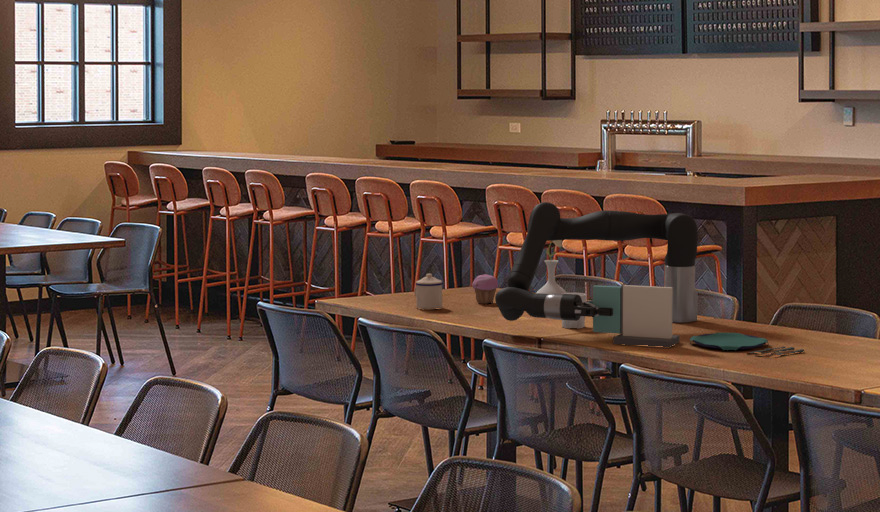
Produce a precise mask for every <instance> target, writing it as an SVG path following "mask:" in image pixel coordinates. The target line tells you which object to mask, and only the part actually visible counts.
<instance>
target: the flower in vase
mask: <svg viewBox="0 0 880 512" xmlns="http://www.w3.org/2000/svg"><path fill="white" fill-rule="evenodd" d="M552 243H553V244H554V245H555V246H557V248H562V247H563V240H554V241H550V242H549V245H548V248H547V249H546V254H547V255H548V257H549V259H545V260H544V263H545V265H546V267H547V272H548V273H547V276H548V277H547V281H546V283H545V284H544V285H543V286H542V287H540V289H538V290H537V292H535V293H541V294H555V293H558V294H562V293H568V292H567V291H566V290H565V289H564V288H563V287H561V285H559V284H558V283H557V282H556V277H555V276H556V275H555V274H556V267H557V264H558V263H559V260H557V259H552V258H551V257H553V256H554V255H556V254H557V251H556V250H554V251H553V253H551V254H550V248H551V245H552Z"/></svg>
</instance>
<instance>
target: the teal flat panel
mask: <svg viewBox="0 0 880 512" xmlns="http://www.w3.org/2000/svg"><path fill="white" fill-rule="evenodd" d="M592 301H593V304H595V306H597V307H599V309H600V307H604V308H613V315H612V316H601V315H600V314H599V316H595V317H592V333H605V334H617V335H619V334H621V286H616V285H613V286H612V285H596V284H595V285H593V286H592Z"/></svg>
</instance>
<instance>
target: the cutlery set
mask: <svg viewBox="0 0 880 512" xmlns="http://www.w3.org/2000/svg"><path fill="white" fill-rule="evenodd" d="M691 341H692V342H693V343H694V344H696V345H698V346H701V347H706V348H711V349H719V350H720V349H721V350H722V351H724V350H727V351H728V350H735V351H737V350H748V349H750V350H751V349H757V348H760V347H763V346H765V345H766V344H767V345H766V348H764V349H762V350H754V351H749V352H750V353H754V352H761V353H771V355H773V354H772V352H771V351H769V350H772V351H773V350H774V349H775V351H774V352H778V353H774V354H777V355H781V354H785V353H784V352H788V351H791V352H789V353H795V352H803V351H804V352H805V349H803V348H801V349H798V350H797V349H796V350H795V347H794V346H790V347H787V348H786V346H784V345H783V346H781V347H774V348H770V347H769V345H770V344H769V340H768V339H767V338H764V337H759V336H755V335H750V334H743V333H741V332H715V333H707V334H706V333H705V334H704V333H703V334H699V335H692V336H691V337H690V339H689V344H690V345H691V344H692V343H691ZM767 347H769V348H767ZM780 348H782V349H780ZM783 348H785V349H783ZM787 350H788V351H787ZM762 351H768V352H762ZM779 351H782V352H779ZM755 354H757V353H755Z"/></svg>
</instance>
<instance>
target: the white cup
mask: <svg viewBox="0 0 880 512" xmlns="http://www.w3.org/2000/svg"><path fill="white" fill-rule="evenodd" d="M562 294H577V295H579V296H580V297H581V299H582V302H586V301H587V293H584V292H567V293H562ZM585 320H586V316H581V317H580V319H579V320H577V321H571V320H561V327H562V328H563V327H564V329H570V328H577V329H584V328H585V325H586V324H585V323H586V321H585ZM583 327H584V328H583Z"/></svg>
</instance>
